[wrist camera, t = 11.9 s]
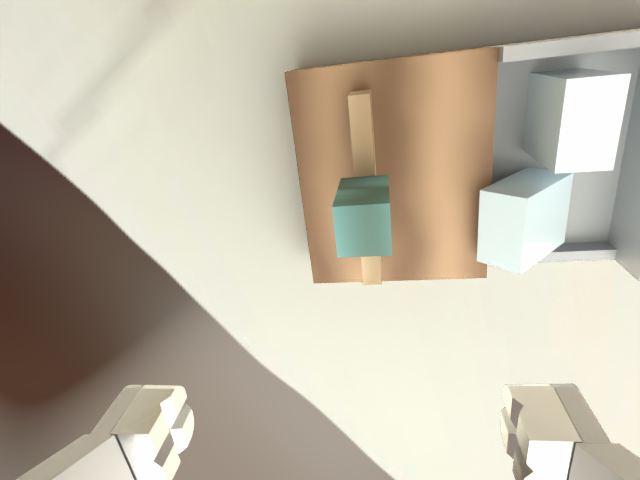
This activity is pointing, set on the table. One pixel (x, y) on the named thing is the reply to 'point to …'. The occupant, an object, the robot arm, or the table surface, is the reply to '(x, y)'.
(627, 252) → the tray
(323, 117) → the tan wooden board
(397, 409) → the table surface
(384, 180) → the teal-headed mallet
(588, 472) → the robot arm
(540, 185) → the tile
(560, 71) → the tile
